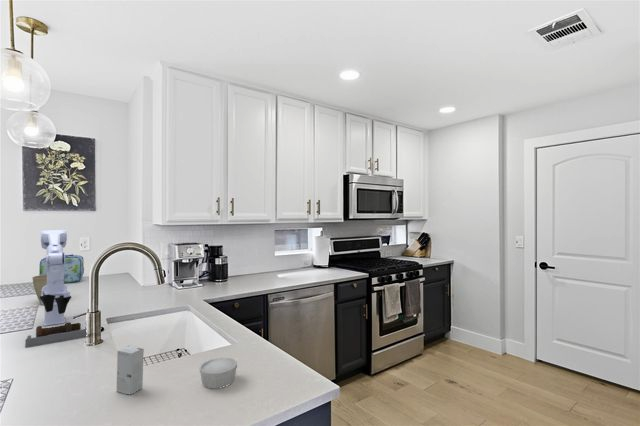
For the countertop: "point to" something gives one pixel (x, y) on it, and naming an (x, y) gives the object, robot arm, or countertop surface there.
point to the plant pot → (40, 284)
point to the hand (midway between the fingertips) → (55, 312)
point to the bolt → (57, 329)
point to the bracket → (54, 338)
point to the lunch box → (68, 268)
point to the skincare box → (129, 369)
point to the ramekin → (218, 372)
